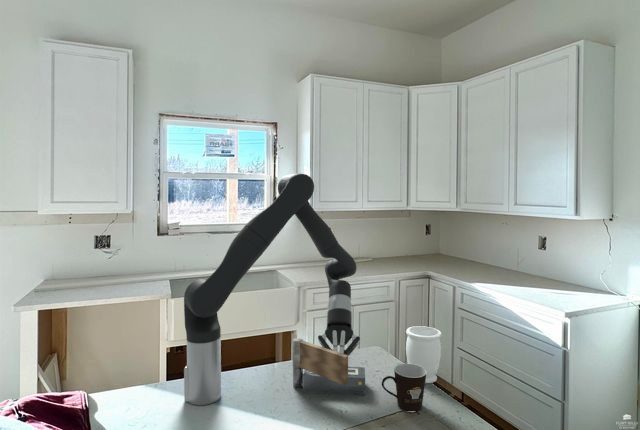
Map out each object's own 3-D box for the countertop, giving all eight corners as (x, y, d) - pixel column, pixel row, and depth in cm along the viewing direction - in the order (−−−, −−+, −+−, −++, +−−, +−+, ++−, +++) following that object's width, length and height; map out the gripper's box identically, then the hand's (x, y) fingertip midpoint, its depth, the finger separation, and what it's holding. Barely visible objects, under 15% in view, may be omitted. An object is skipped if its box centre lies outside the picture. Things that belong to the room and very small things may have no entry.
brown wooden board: (290, 365, 117) (290, 340, 117) (297, 362, 120) (297, 337, 119) (342, 386, 105) (343, 358, 104) (349, 382, 107) (350, 354, 107)
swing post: (292, 388, 116) (292, 368, 116) (293, 383, 119) (293, 364, 119) (302, 388, 116) (302, 368, 116) (303, 383, 119) (303, 364, 119)
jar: (405, 383, 120) (405, 335, 119) (406, 368, 130) (406, 324, 129) (441, 387, 117) (442, 338, 116) (439, 372, 127) (440, 327, 126)
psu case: (302, 392, 114) (302, 374, 113) (305, 380, 121) (306, 364, 121) (365, 395, 112) (365, 377, 112) (364, 383, 119) (364, 366, 119)
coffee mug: (426, 400, 110) (426, 365, 109) (425, 417, 101) (426, 379, 101) (384, 394, 113) (384, 360, 112) (380, 410, 105) (381, 373, 104)
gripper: (317, 306, 119) (313, 363, 107) (361, 307, 118) (362, 365, 106) (318, 317, 124) (315, 373, 113) (360, 318, 123) (361, 375, 112)
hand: (338, 369), depth 110 cm, fingers closed
